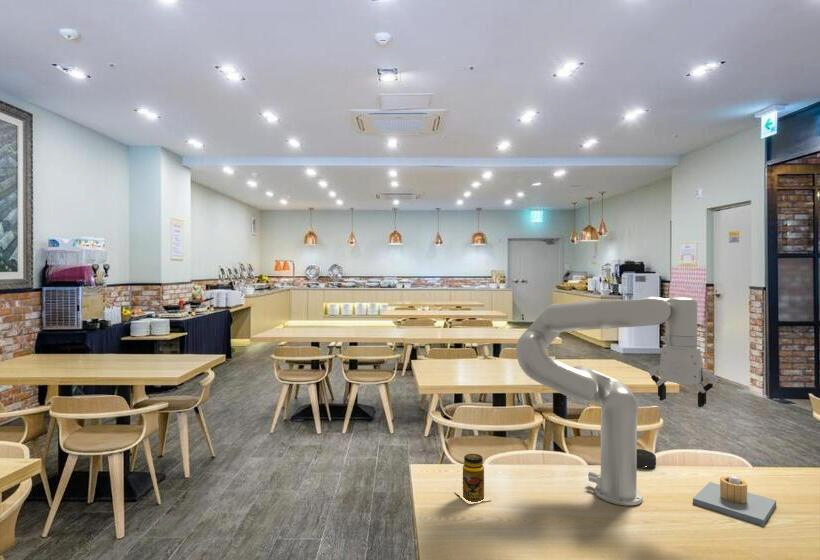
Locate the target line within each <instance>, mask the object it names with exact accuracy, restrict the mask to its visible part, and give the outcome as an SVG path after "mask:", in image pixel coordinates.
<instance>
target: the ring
mask: <svg viewBox="0 0 820 560" xmlns="http://www.w3.org/2000/svg"><path fill="white" fill-rule="evenodd" d="M719 480H720V481H719V485H720V497H721V498H722V499H724V500H725V501H728V502H731V503H734V504H746V503H747V492H748V483H747V482H746V481H745V480H743V479H741V478H740V484H733V483H729V476H722V477H720V478H719Z"/></svg>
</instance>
